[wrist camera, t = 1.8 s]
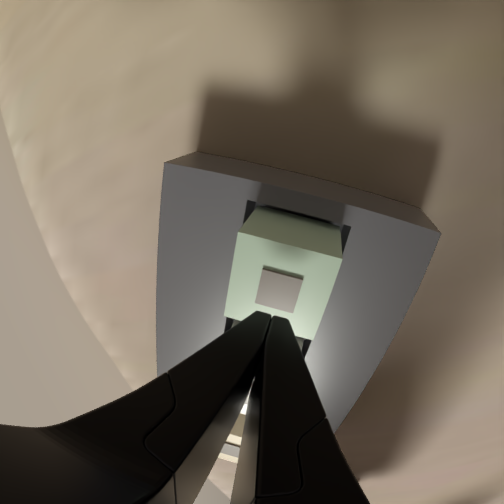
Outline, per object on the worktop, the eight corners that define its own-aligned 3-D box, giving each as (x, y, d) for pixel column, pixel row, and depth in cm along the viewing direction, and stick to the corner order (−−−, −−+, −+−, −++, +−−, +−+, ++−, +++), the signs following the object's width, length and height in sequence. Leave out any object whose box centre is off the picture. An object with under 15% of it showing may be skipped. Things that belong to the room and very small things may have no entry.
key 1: (317, 296, 12) (313, 342, 10) (243, 277, 13) (222, 317, 10) (339, 226, 11) (342, 260, 9) (257, 205, 11) (236, 233, 9)
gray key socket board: (319, 421, 19) (315, 458, 16) (177, 381, 20) (159, 413, 18) (419, 208, 12) (441, 233, 10) (195, 151, 14) (164, 162, 11)
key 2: (265, 431, 17) (255, 469, 14) (217, 417, 17) (202, 454, 15) (277, 403, 15) (267, 445, 13) (222, 387, 16) (205, 428, 13)
